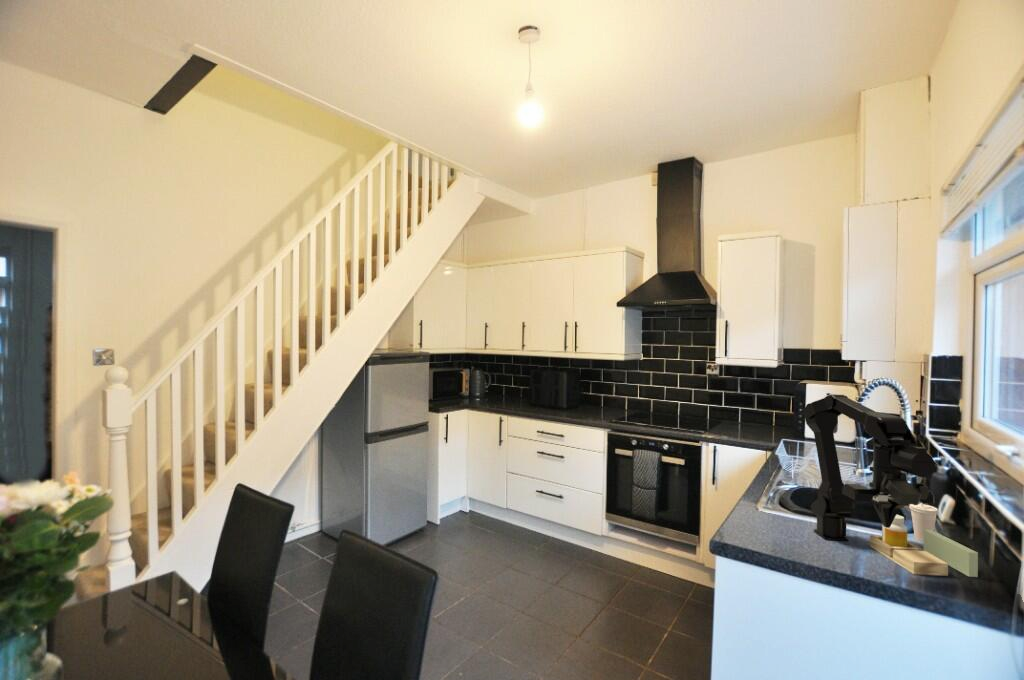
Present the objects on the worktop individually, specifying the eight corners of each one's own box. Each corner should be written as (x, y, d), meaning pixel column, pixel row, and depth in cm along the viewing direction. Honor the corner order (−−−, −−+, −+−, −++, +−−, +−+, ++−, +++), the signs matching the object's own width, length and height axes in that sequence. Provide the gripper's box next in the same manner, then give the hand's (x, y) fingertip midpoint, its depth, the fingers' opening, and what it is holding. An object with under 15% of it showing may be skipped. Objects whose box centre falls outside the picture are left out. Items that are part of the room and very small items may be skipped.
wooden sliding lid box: (913, 574, 116) (913, 562, 116) (869, 545, 132) (869, 535, 132) (947, 575, 116) (948, 563, 116) (899, 547, 132) (899, 536, 132)
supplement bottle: (912, 556, 125) (912, 520, 125) (889, 554, 126) (889, 518, 126) (899, 547, 130) (900, 513, 130) (877, 545, 131) (878, 511, 131)
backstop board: (968, 576, 115) (969, 552, 115) (923, 551, 129) (923, 529, 129) (977, 577, 115) (977, 552, 115) (931, 551, 129) (931, 529, 129)
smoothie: (903, 535, 140) (903, 488, 140) (922, 535, 140) (923, 488, 140) (923, 544, 133) (924, 496, 133) (944, 544, 134) (944, 495, 134)
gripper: (870, 473, 111) (869, 538, 111) (954, 476, 110) (953, 542, 110) (841, 461, 123) (840, 520, 123) (916, 463, 121) (916, 523, 121)
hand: (886, 527), depth 119 cm, fingers closed
